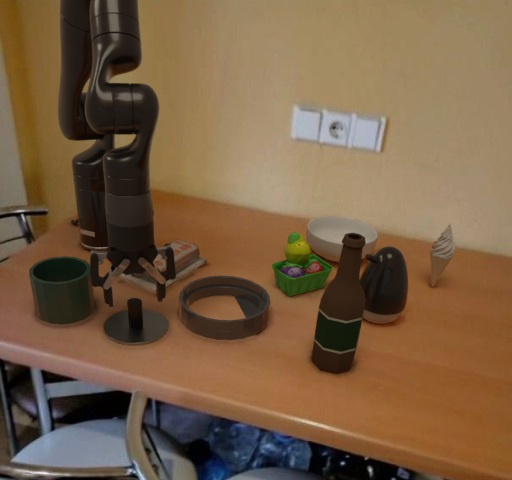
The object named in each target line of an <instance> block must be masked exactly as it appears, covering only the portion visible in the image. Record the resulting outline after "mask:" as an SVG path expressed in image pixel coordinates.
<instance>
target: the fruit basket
mask: <svg viewBox="0 0 512 480" xmlns="http://www.w3.org/2000/svg"><path fill="white" fill-rule="evenodd" d="M286 241H287V242H286V245H285V248H284V257H285V259H284V260H280V261H277V262H273V263H271V268H272V270H273V274H274V278H275V283H276V284H275V285H276V287H277V288H280V290H281V291H282V292H284V293H285V294H287V295H288V296H289V297H293V296H296V295H300V294H304V293H307V292H311V291H315V290H319V289H323V288H324V286H325V285H326V282H327V281H328V279H329V276H330V274H331V273H332V272H333V269H334V267H333V265H331V264H329V263H328V262H327V261H325V260H323V259H322V258H321V257H319V256H318V255H317V254H313V253H311V252H312V251H311V250H312V249H311V247H310V246H309V244H308V242H307V240H305V238H304V236H303V235H302V234H300V233H298V232H296V231H293V232H291V233H289V235H288V237H287V240H286Z"/></svg>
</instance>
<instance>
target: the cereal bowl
mask: <svg viewBox="0 0 512 480" xmlns="http://www.w3.org/2000/svg"><path fill="white" fill-rule="evenodd" d="M347 233H357V234H361V235H362V236H364V237H365V241H366V243H365V246H364V247H363V250H362V258H361V260H364V259H366V258H365V256H366V254H371V253H373V251H374V250H375V248H376V245H377V242H378V237H379V232H378V230H377V229H376V228H375V227H374V226H372V225H371V224H370V223H367V222H366V221H363V220H360V219H357V218H353V217H349V216H341V215H322V216H317V217H314V218H312V219H311V220H309V221H308V222H307V226H306V233H305V236H306V242H307V243H308V245H309V247H310V249H311V250H312V251H313V252H314V253H315V254H316V255H318V256H320V257H322V258H323V259H325V260H327V261H328V262H332V263H336V264H339V260H340V256H341V251H342V247H343V243H342V240H343V238H344V236H345V234H347ZM371 255H372V254H371Z"/></svg>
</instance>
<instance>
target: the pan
mask: <svg viewBox="0 0 512 480" xmlns="http://www.w3.org/2000/svg"><path fill="white" fill-rule="evenodd" d="M217 296H218V297H219V296H223V297H224V296H226V297H227V296H228V297H234V299H235V301H236V302H237V304H238V306H239V308H240V310H241V311H242V314H243V316H244V318H239V319H217V318H211V317H207V316H205V315H201V314H198V313H196V312H194V311H193V310H191V309H190V308H189V307H191V305H193V304H194V303H196V302H197V301H200V300H202V299H206V298H210V297H217ZM270 310H271V296H270V294H269V292H268V291H267V289H265V288H264V287H263V286H262V285H261V284H259V283H257V282H255V281H253V280H250V279H248V278H243V277H239V276H233V275H209V276H205V277H204V276H203V277H201V278H197V279H195V280H193V281H190V282H188V283H187V284H186V285H184V286H183V287H182V289H181V290H180V292H179V296H178V317H179V320H180V322H181V324H182V325H183V326H184V327H185V328H186V329H187V330H188V331H190V332H192V333H193V334H195V335H197V336H200V337H203V338H206V339H212V340H217V341H234V340H235V341H236V340H242V339H246V338H249V337H253V336H255V335H256V334H258V333H261V332H262V331H263V330H264V329H265V328H266V327H267V325H268V323H269V320H270Z"/></svg>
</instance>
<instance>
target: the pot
mask: <svg viewBox="0 0 512 480" xmlns="http://www.w3.org/2000/svg"><path fill="white" fill-rule="evenodd" d="M28 276H29V282H30V287H31V294H32V299H33V304H34V310H35V311H34V312H35V315H36V316H37V318H38V319H39V320H41V321H42V322H45V323H47V324H50V325H51V324H52V325H60V326H61V325H70V324H75V323H79V322H81V321H84V320H86V319H87V318H89V317H90V316H92V315H93V313H94V312H95V310H96V303H95V295H94V287H93V286H92V280H91V272H90V262H88V261H87V260H85V259H82V258H79V257H76V256H67V255H65V256H64V255H62V256H52V257H47V258H44V259H41V260H39V261H38V262H35V263H34V264H33V265H32V266H31V267H30V268H29V269H28Z"/></svg>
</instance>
